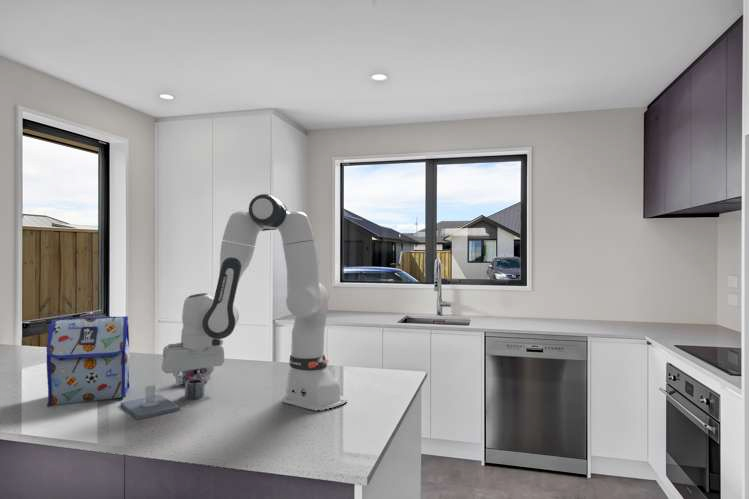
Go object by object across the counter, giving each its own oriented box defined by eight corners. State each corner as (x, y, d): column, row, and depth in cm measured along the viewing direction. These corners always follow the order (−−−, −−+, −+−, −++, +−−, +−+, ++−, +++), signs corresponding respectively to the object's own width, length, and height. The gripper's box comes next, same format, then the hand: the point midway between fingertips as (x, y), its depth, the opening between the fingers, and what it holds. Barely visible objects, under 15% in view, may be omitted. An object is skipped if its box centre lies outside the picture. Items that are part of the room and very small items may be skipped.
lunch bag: (41, 410, 138) (43, 321, 138) (53, 394, 153) (55, 314, 153) (126, 401, 147) (128, 318, 148) (129, 387, 162) (132, 312, 163)
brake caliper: (202, 382, 163) (185, 353, 165) (180, 398, 165) (163, 370, 167) (220, 374, 174) (204, 347, 176) (199, 389, 176) (184, 363, 178)
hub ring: (206, 396, 154) (207, 381, 154) (189, 400, 150) (190, 385, 150) (199, 392, 158) (199, 378, 158) (182, 396, 154) (182, 381, 154)
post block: (179, 410, 141) (180, 388, 141) (138, 419, 132) (138, 397, 132) (160, 397, 152) (160, 378, 152) (120, 405, 143) (121, 384, 143)
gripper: (167, 346, 145) (165, 390, 145) (227, 339, 159) (225, 379, 159) (159, 343, 150) (157, 385, 149) (219, 336, 164) (217, 375, 164)
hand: (193, 382), depth 154 cm, fingers open, 8 cm apart
